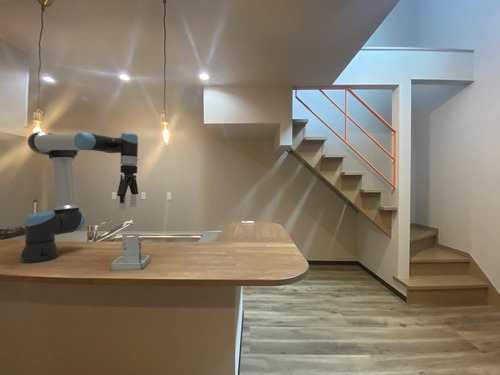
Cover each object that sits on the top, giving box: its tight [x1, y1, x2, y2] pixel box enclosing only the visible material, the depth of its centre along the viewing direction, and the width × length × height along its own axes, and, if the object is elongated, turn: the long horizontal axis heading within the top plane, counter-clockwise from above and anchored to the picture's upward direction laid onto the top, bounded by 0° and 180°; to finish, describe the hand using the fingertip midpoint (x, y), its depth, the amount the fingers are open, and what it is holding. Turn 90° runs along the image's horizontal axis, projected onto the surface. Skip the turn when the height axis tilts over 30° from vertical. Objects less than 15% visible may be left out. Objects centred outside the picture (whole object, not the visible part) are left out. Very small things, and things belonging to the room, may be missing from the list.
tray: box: [109, 254, 151, 271], centre depth 126 cm, size 14×13×3 cm
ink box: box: [121, 233, 142, 263], centre depth 125 cm, size 4×8×15 cm, turn 94°
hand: (128, 208), depth 130 cm, fingers open, 13 cm apart
